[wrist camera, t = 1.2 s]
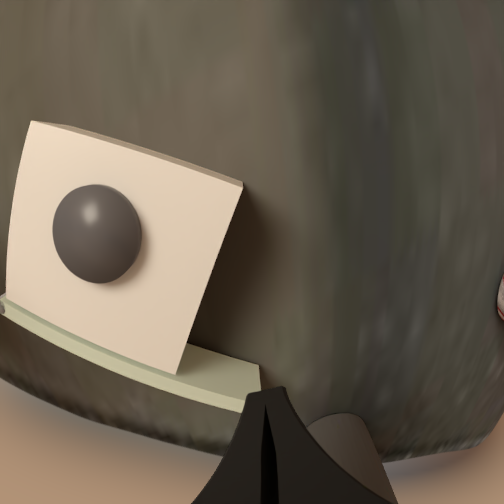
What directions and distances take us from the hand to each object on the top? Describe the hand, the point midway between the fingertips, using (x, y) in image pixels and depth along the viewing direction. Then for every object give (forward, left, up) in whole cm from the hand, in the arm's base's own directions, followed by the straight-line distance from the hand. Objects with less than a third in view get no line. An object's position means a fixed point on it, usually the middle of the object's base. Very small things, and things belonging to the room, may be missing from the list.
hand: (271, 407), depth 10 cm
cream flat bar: (-7, -4, -8) cm, 12 cm away
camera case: (-9, +2, -8) cm, 12 cm away
